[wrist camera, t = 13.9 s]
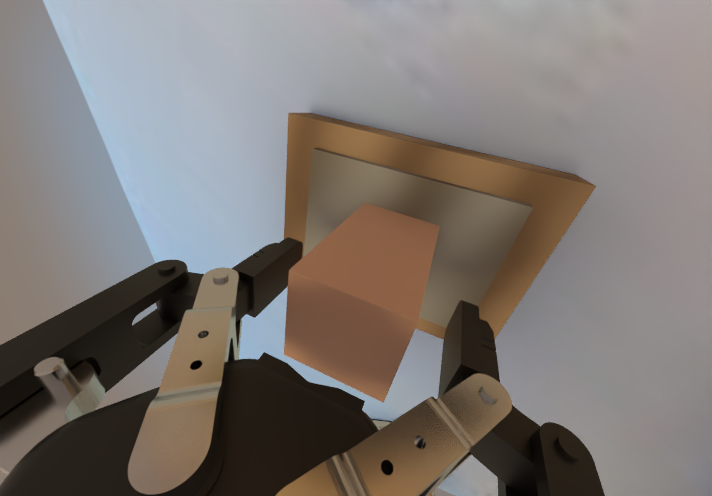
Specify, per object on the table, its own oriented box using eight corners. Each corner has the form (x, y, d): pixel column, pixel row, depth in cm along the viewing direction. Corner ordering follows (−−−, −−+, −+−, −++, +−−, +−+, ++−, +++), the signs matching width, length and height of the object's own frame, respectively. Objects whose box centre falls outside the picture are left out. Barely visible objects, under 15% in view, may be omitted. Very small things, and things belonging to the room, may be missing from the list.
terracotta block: (440, 225, 14) (418, 321, 8) (416, 287, 17) (383, 402, 10) (364, 202, 15) (288, 270, 9) (352, 263, 18) (284, 354, 11)
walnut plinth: (576, 175, 14) (600, 188, 11) (481, 330, 20) (484, 361, 17) (309, 113, 17) (283, 112, 15) (299, 260, 23) (279, 278, 21)
